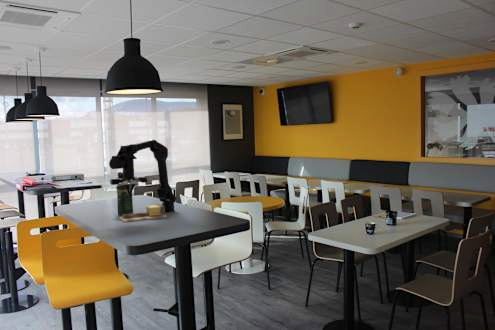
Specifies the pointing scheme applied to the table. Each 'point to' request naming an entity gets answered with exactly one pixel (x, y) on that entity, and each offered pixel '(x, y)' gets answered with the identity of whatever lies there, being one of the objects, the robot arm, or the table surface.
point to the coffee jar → (124, 201)
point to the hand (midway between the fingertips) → (129, 196)
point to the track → (142, 215)
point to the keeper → (153, 210)
